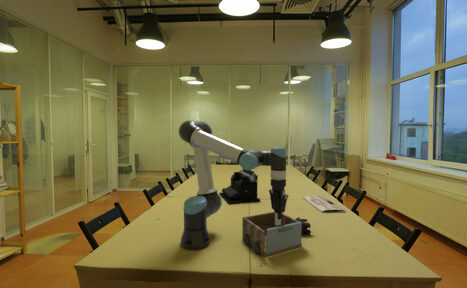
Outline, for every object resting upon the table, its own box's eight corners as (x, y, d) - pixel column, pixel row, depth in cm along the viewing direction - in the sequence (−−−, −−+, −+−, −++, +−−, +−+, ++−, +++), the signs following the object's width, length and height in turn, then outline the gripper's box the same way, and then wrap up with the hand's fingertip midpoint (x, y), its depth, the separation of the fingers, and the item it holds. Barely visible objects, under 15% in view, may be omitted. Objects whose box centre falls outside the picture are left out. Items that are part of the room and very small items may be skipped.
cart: (240, 239, 123) (240, 217, 123) (279, 230, 135) (279, 210, 134) (260, 257, 106) (260, 232, 105) (303, 245, 117) (303, 222, 117)
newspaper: (345, 213, 166) (345, 209, 166) (319, 213, 165) (319, 209, 164) (322, 198, 203) (322, 195, 202) (301, 198, 201) (301, 195, 201)
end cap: (294, 228, 139) (294, 217, 138) (305, 228, 138) (306, 217, 138) (297, 235, 129) (297, 223, 128) (310, 235, 128) (310, 224, 128)
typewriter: (219, 194, 212) (219, 168, 211) (246, 192, 220) (247, 166, 219) (229, 205, 182) (229, 174, 181) (260, 201, 191) (260, 172, 189)
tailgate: (266, 252, 107) (266, 229, 106) (299, 243, 116) (299, 221, 115) (268, 254, 105) (268, 230, 104) (301, 244, 114) (302, 223, 113)
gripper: (293, 180, 109) (292, 228, 111) (276, 175, 121) (276, 219, 122) (280, 181, 106) (280, 231, 107) (264, 176, 118) (264, 221, 119)
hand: (277, 224), depth 115 cm, fingers closed
